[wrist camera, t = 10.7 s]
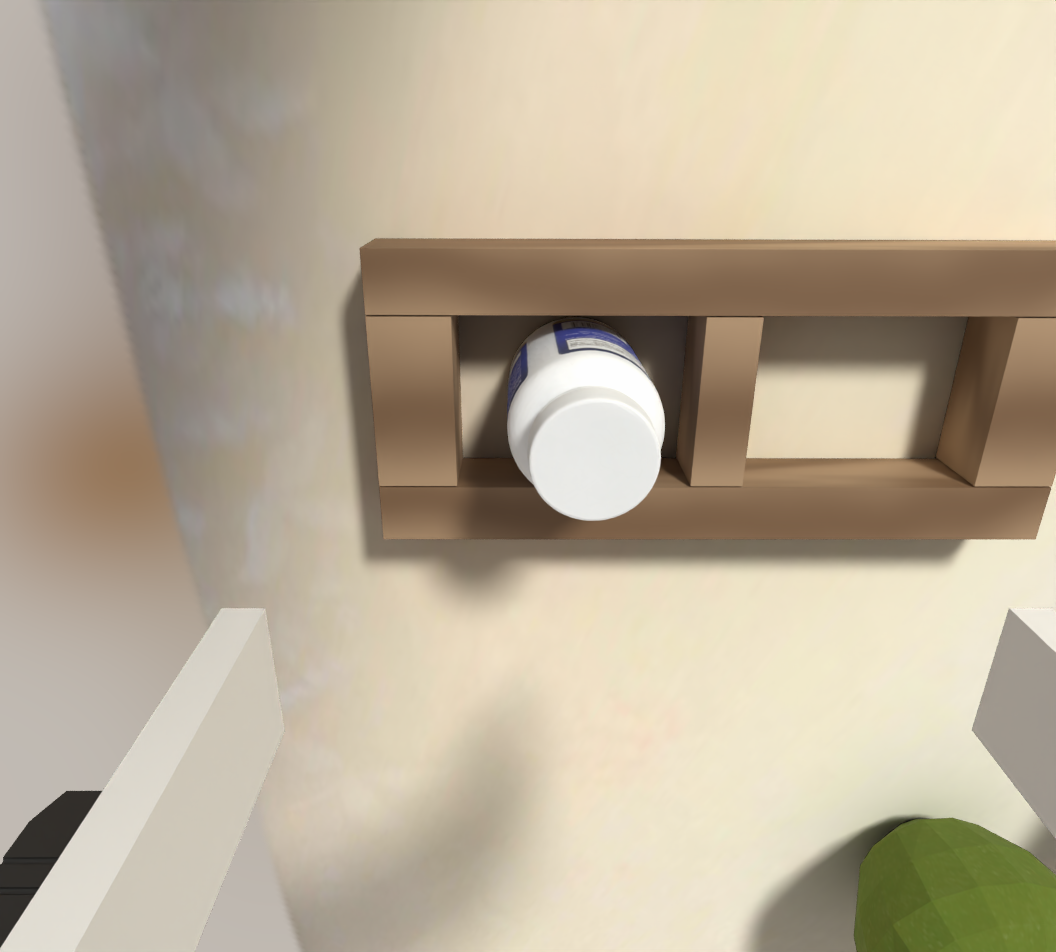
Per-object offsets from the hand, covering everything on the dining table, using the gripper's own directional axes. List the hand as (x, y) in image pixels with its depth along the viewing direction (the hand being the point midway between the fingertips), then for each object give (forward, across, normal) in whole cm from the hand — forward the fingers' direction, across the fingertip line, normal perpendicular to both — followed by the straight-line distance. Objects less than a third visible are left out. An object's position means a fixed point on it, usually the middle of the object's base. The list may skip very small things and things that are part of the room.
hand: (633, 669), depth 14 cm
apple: (+19, +20, -26) cm, 38 cm away
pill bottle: (+19, 0, 0) cm, 19 cm away
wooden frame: (+18, +6, 0) cm, 19 cm away
